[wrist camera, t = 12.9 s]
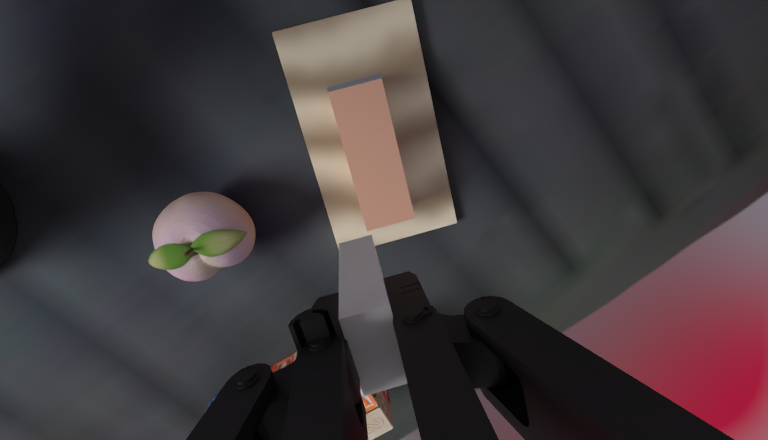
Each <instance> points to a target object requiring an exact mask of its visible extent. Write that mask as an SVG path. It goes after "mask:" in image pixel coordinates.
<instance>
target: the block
mask: <svg viewBox="0 0 768 440" xmlns="http://www.w3.org/2000/svg"><path fill="white" fill-rule="evenodd" d="M327 91H328V94H329V98H330V101H331V105H332V108H333V112H334V116H335V119H336V123H337V126H338V130H339V133H340V137H341V140H342V144H343V148H344V151H345V155H346V158H347V162H348V165H349V169H350V172H351V176H352V180H353V183H354V187H355V190H356V194H357V197H358V201H359V205H360V208H361V212H362V215H363V219H364V222H365V226H366V229H367V231H370V230H374V229H377V228H381V227H385V226H388V225H392V224H396V223H399V222H403V221H406V220H410V219H414V218H415V216H414V211H413V207H412V203H411V199H410V195H409V190H408V186H407V182H406V178H405V174H404V170H403V165H402V161H401V157H400V153H399V149H398V144H397V140H396V136H395V132H394V128H393V124H392V119H391V115H390V111H389V107H388V103H387V98H386V94H385V90H384V86H383V82H382V78H381V74H377V75H373V76H370V77H366V78H362V79H358V80H354V81H350V82H347V83H343V84H339V85H335V86H331V87H328V88H327Z"/></svg>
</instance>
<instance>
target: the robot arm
mask: <svg viewBox="0 0 768 440" xmlns="http://www.w3.org/2000/svg"><path fill="white" fill-rule="evenodd" d="M15 238H16V220H15V215H14V211H13V208H12V205H11V203H10V201H9V199H8V197H7V195H6V193H5V192H4V190H3V189H2V187H1V186H0V266H1V265H2V264H3V263H4V262H5V261H6V259H7V258H8V256H9V255H10V253H11V251H12V248H13V246H14V242H15ZM288 327H289V329H290V332H291V335H292V337H293V340H294V343H295V345H296V348H297V355H296V360H295V361H293V362H292V363H290V364H289V365H287V366H285V367H283V368H281V369H279V370H277V371H275V372H272V369H271V367H270V366H269V365H267V364H254V365H250V366H247V367H246V368H243V369H241V370H240V371H239V372H237V373H236V374H234V375H233V376H232V377H231V378H230V379H229V380H228V381H227V382H226V384H225V385H224V386H223V388H222V389H221V391H220V392H219V394H218V395H217V396H216V398H215V399H214V401H213V402H212V404H211V405H210V406H209V408H208V409H207V411H206V412H205V413H204V415H203V416H202V418H201V419H200V421H199V422H198V423H197V425H196V426H195V428H194V429H193V431H192V432H191V433H190V435H189V436H188V438H187V439H186V440H368V431H367V420H366V409H365V406H364V403H363V400H362V397H361V389H362V392H363V395H364V396H367V395H370V394H374V393H377V392H380V391H384V390H387V389H391V388H394V387H397V386H401V385H404V384H407V383H408V387H409V391H410V396H411V400H412V404H413V408H414V412H415V416H416V420H417V424H418V428H419V432H420V436H421V440H499V439H498V438H497V435H496V433H495V431H494V429H493V427H492V425H491V423H490V421H489V419H488V417H487V415H486V412H485V410H484V408H483V406H482V404H481V402H480V400H479V398H478V396H477V394H476V392H475V390H474V388H480V389H481V391H482V393H483V395H484V396H485V397H486V398H487V399H488V400H489V401H490V403H491V404H492V405H493V406H494V407H495V408H496V409H497V410H498V411H499V412H500V413H501V414H502V416H503V417H504V418H505V419H506V420H507V421H508V422H509V423H510V424H511V425H512V426H513V427H514V428H515V430H516V431H517V432H518V433H519V434H520V435H521V436H522V437H523V438H524V439H525V440H734V439H732V438H731V437H729V436H727V435H726V434H724V433H723V432H721V431H719V430H718V429H716V428H714V427H713V426H711V425H709V424H708V423H706V422H705V421H703V420H701V419H700V418H698V417H696V416H695V415H693V414H692V413H690V412H688V411H687V410H685V409H684V408H682V407H680V406H679V405H677V404H675V403H674V402H672V401H671V400H669V399H667V398H666V397H664V396H663V395H661V394H659V393H658V392H656V391H654V390H653V389H651V388H650V387H648V386H646V385H645V384H643V383H641V382H640V381H638V380H637V379H635V378H633V377H632V376H630V375H629V374H627V373H625V372H624V371H622V370H620V369H619V368H617V367H616V366H614V365H612V364H610V363H609V362H607V361H606V360H604V359H603V358H601V357H599V356H598V355H596V354H594V353H593V352H591V351H590V350H588V349H586V348H584V347H583V346H582V345H580V344H578V343H577V342H575V341H573V340H572V339H570V338H568V337H567V336H565V335H564V334H562V333H560V332H559V331H557V330H556V329H554V328H552V327H551V326H549V325H547V324H546V323H544V322H543V321H541V320H539V319H538V318H536V317H535V316H533V315H531V314H530V313H528V312H526V311H525V310H523V309H522V308H520V307H518V306H517V305H515V304H513V303H512V302H510V301H509V300H507V299H504V298H502V297H496V296H487V297H486V296H485V297H481V298H478V299H475V300H473V301H471V302H470V303H468V304H467V306H466V307H465V308H464V315H455V316H448V315H442V314H439V313H437V311H436V309H435V308H434V307H433V306H431V305H430V303H429V301H428V299H427V297H426V295H425V293H424V291H423V288H422V286H421V284H420V282H419V280H418V278H417V276H416V275H415V274H413V273H411V272H409V271H408V272H405V273H401V274H397V275H394V276H390V277H387V278H384V277H383V274H382V270H381V267H380V263H379V259H378V256H377V252H376V249H375V245H374V242H373V238H372V235H368V236H364V237H361V238H357V239H354V240H350V241H347V242H343V243H339V292H338V293H334V294H331V295H327V296H324V297H320V298H318V299H317V301H316V302H315V303H314V305H313V306H312V308H311V309H309V310H306V311H304V312H302V313H300V314H299V315H297V316H296V317H295V318H294V319H293V320H291V322H290V324H289V326H288ZM360 386H361V389H360Z"/></svg>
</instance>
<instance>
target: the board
mask: <svg viewBox="0 0 768 440" xmlns="http://www.w3.org/2000/svg"><path fill="white" fill-rule="evenodd" d="M272 35H273V38H274V42H275V45H276V48H277V51H278V55H279V58H280V61H281V64H282V68H283V71H284V74H285V77H286V81H287V84H288V87H289V90H290V94H291V97H292V100H293V103H294V106H295V110H296V113H297V116H298V119H299V123H300V126H301V129H302V132H303V136H304V139H305V142H306V145H307V149H308V152H309V155H310V158H311V162H312V165H313V168H314V171H315V175H316V178H317V181H318V184H319V188H320V191H321V194H322V197H323V201H324V204H325V207H326V210H327V214H328V217H329V220H330V223H331V226H332V230H333V233H334V236H335V239H336V243H337V246H338V249H339V243H343V242H347V241H350V240H354V239H357V238H361V237H364V236H368V235H372V238H373V242H374V245H375V246H376V245H380V244H383V243H387V242H391V241H394V240H398V239H401V238H405V237H409V236H412V235H416V234H419V233H423V232H427V231H430V230H434V229H437V228H441V227H445V226H448V225H452V224H455V223H457V220H456V215H455V210H454V205H453V200H452V196H451V191H450V186H449V181H448V176H447V171H446V166H445V162H444V157H443V152H442V147H441V142H440V137H439V132H438V127H437V123H436V118H435V113H434V108H433V103H432V98H431V93H430V89H429V84H428V79H427V74H426V69H425V64H424V59H423V55H422V50H421V45H420V40H419V35H418V30H417V25H416V21H415V16H414V11H413V6H412V1H411V0H396V1H392V2H388V3H385V4H381V5H377V6H373V7H369V8H365V9H361V10H357V11H353V12H349V13H345V14H341V15H338V16H334V17H330V18H326V19H322V20H318V21H314V22H310V23H306V24H302V25H298V26H294V27H290V28H287V29H283V30H279V31H275V32H272ZM377 74H381V78H382V82H383V86H384V90H385V94H386V98H387V103H388V107H389V111H390V115H391V119H392V124H393V128H394V132H395V136H396V140H397V144H398V149H399V153H400V157H401V161H402V165H403V170H404V174H405V178H406V182H407V186H408V190H409V195H410V199H411V203H412V207H413V211H414V216H415V218H414V219H410V220H406V221H403V222H399V223H396V224H392V225H388V226H385V227H381V228H377V229H374V230H370V231H367V229H366V226H365V222H364V219H363V215H362V212H361V208H360V205H359V201H358V197H357V194H356V190H355V187H354V183H353V180H352V176H351V172H350V169H349V165H348V162H347V158H346V155H345V151H344V148H343V144H342V140H341V137H340V133H339V130H338V126H337V123H336V119H335V116H334V112H333V108H332V105H331V101H330V98H329V94H328V91H327V88H328V87H331V86H335V85H339V84H343V83H347V82H350V81H354V80H358V79H362V78H366V77H370V76H373V75H377Z"/></svg>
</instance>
